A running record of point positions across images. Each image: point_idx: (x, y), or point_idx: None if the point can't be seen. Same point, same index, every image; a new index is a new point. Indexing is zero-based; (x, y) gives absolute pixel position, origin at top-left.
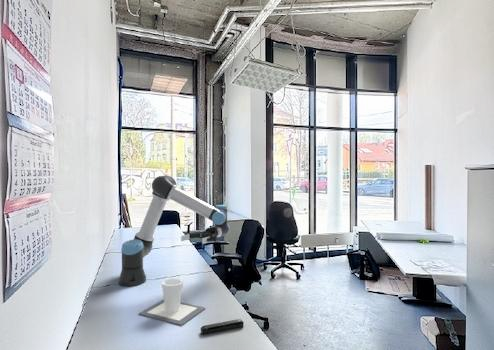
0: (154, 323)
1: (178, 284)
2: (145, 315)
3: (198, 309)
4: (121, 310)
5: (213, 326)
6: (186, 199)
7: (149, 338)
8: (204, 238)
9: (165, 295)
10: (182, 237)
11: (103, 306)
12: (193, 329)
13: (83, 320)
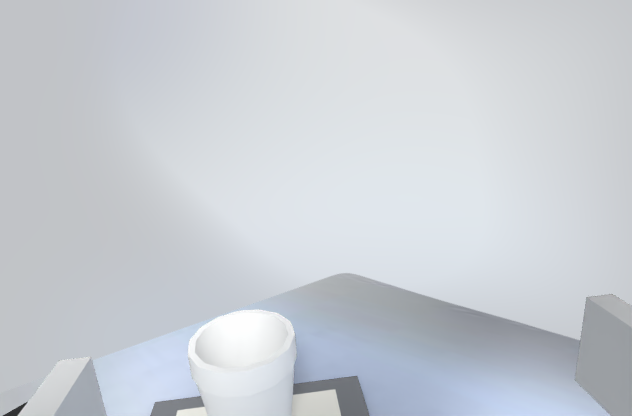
0: None
1: (194, 334)
2: (324, 381)
3: None
4: (436, 367)
5: (10, 412)
6: None
7: None
8: (37, 391)
9: (257, 355)
10: (586, 320)
11: (517, 353)
12: None
13: (444, 303)
